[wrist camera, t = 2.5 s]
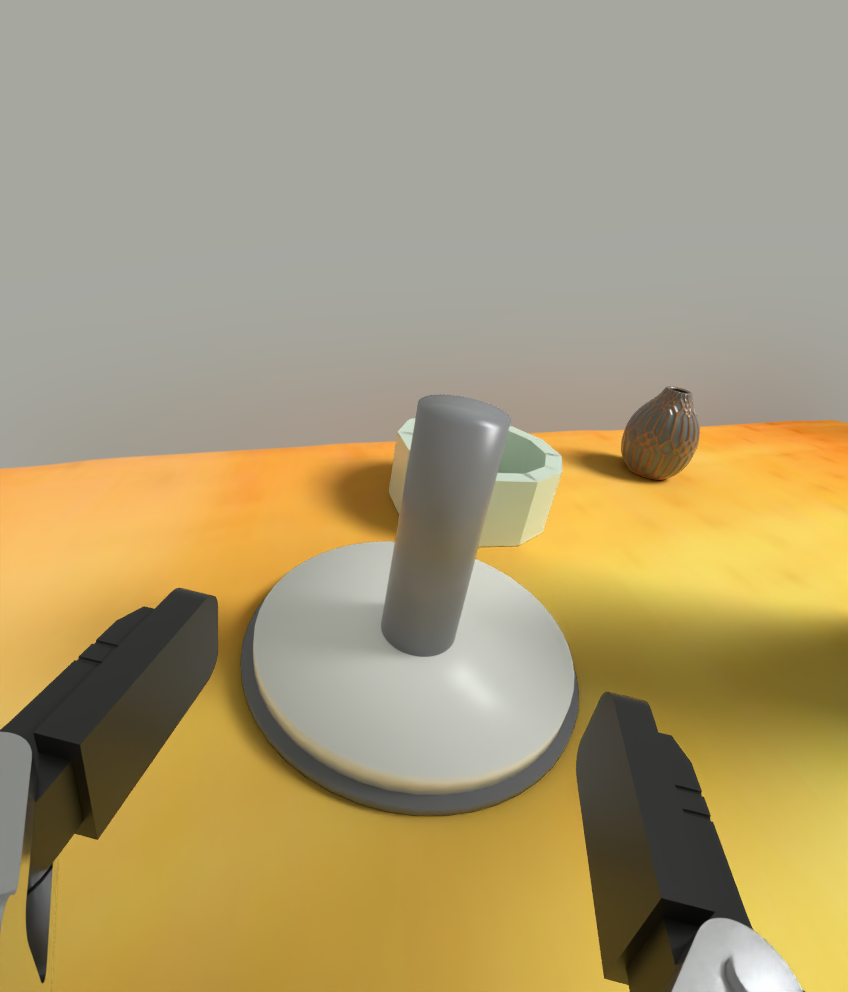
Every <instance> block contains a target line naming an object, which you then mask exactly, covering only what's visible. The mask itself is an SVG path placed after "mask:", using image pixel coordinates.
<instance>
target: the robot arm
mask: <svg viewBox="0 0 848 992" xmlns="http://www.w3.org/2000/svg"><path fill="white" fill-rule="evenodd" d="M217 655H218V602H217V599H216V597H215V596H212V595H208V594H204V593H199V592H195V591H191V590H187V589H183V588H177V589H175V590H173V591H172V592H171V593H170V594H169V595H168V596H167V597H166V598H165V599H164V600H163V601H162V602H161V603H160V604H159V605H158V606H157V607H156V608H155V609H152V608H148V607H142V608H140V609H138V610H136V611H134V612H132V613H130V614H128V615H127V616H125V617H123V618H121V619H119V620H117V621H116V622H115V623H114V624H113V625H112V626H111V627H109V628H108V629H107V630H106V631H105V632H104V633H103V634H102V635H101V636H100V637H99V638H98V639H97V640H96V643H95V644H91V645H90V646H89V647H88V648H87V649H86V650H85V651H84V652H83V653H82V654H81V655H80V656H79V659H78V660H77V661H74V662H72V663H71V664H70V665H69V666H68V667H67V668H66V669H65V670H64V671H63V672H62V673H61V674H60V675H59V676H58V677H57V678H56V679H54V680H53V681H52V682H51V683H50V684H49V685H48V686H47V687H46V688H45V689H44V690H43V691H42V692H41V693H40V694H39V695H38V696H36V697H35V698H34V699H33V700H32V701H31V702H30V703H29V704H28V705H27V706H26V707H25V708H24V709H23V710H22V711H21V712H20V713H19V714H17V715H16V716H15V717H14V718H13V719H12V720H11V721H10V722H9V723H8V724H7V725H6V726H4V727H3V728H2V729H1V730H0V992H52V977H53V958H54V939H55V919H56V900H57V881H58V855H59V854H60V852H61V851H62V850H63V848H64V847H65V846H66V844H67V843H68V842H69V840H70V839H71V838H72V836H73V835H74V833H75V834H78V835H82V836H86V837H89V838H93V839H97V840H98V839H99V837H100V836H101V834H102V833H103V831H104V830H105V829H106V827H107V826H108V824H109V823H110V821H111V820H112V818H113V817H114V816H115V814H116V813H117V811H118V810H119V808H120V807H121V805H122V804H123V803H124V801H125V800H126V798H127V797H128V795H129V794H130V793H131V791H132V790H133V788H134V787H135V785H136V784H137V782H138V781H139V780H140V778H141V777H142V775H143V774H144V772H145V771H146V769H147V768H148V767H149V765H150V764H151V762H152V761H153V759H154V758H155V757H156V755H157V754H158V752H159V751H160V749H161V748H162V746H163V745H164V744H165V742H166V741H167V739H168V738H169V736H170V735H171V734H172V732H173V731H174V729H175V728H176V726H177V725H178V723H179V722H180V721H181V719H182V718H183V716H184V715H185V713H186V712H187V710H188V709H189V708H190V706H191V705H192V703H193V702H194V700H195V699H196V698H197V696H198V695H199V693H200V692H201V690H202V689H203V687H204V686H205V685H206V683H207V682H208V680H209V678H210V676H211V674H212V672H213V669H214V667H215V664H216V660H217ZM576 775H577V783H578V790H579V797H580V805H581V812H582V819H583V827H584V834H585V841H586V849H587V856H588V863H589V871H590V878H591V885H592V893H593V900H594V907H595V915H596V922H597V929H598V937H599V944H600V951H601V959H602V966H603V973H604V979H608V980H612V981H616V982H619V983H623V984H627V985H629V989H630V992H805V991H804V990H802V988H801V986H800V984H799V982H798V980H797V978H796V977H795V975H794V973H793V972H792V970H791V969H790V967H789V966H788V964H787V963H786V962H785V960H784V959H783V958H782V957H781V955H780V954H779V953H778V952H777V951H776V950H775V949H774V948H773V947H772V946H771V945H770V944H769V943H768V942H767V941H766V940H765V939H764V938H763V937H761V936H760V935H759V934H758V933H756V932H755V931H754V930H753V928H752V926H751V924H750V921H749V919H748V917H747V914H746V911H745V908H744V906H743V903H742V900H741V898H740V895H739V892H738V889H737V887H736V884H735V881H734V878H733V876H732V873H731V870H730V867H729V865H728V862H727V859H726V856H725V854H724V851H723V848H722V845H721V843H720V840H719V837H718V835H717V832H716V829H715V826H714V824H713V822H711V821H710V816H711V815H710V813H709V810H708V807H707V804H706V802H705V799H704V797H702V796H701V792H702V791H701V788H700V785H699V782H698V780H697V777H696V774H695V772H694V769H693V766H692V763H691V762H690V760H689V759H688V758H687V756H686V755H685V753H684V752H683V751H682V749H681V748H680V747H679V745H678V744H677V743H676V741H675V740H674V739H673V737H672V736H670V735H666V734H662V733H658V730H657V727H656V724H655V721H654V718H653V715H652V712H651V709H650V706H649V704H648V703H647V702H646V701H644V700H641V699H636V698H632V697H628V696H624V695H620V694H616V693H611V692H605V693H604V694H603V695H602V696H601V698H600V700H599V702H598V705H597V707H596V709H595V711H594V713H593V715H592V718H591V720H590V722H589V724H588V726H587V728H586V731H585V733H584V735H583V737H582V739H581V742H580V744H579V748H578V753H577V761H576Z"/></svg>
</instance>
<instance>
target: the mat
mask: <svg viewBox="0 0 848 992" xmlns="http://www.w3.org/2000/svg"><path fill="white" fill-rule="evenodd" d="M264 600H265V599H264ZM264 600H263V602H264ZM263 602H262V603H261V604H260V606H259V607H258V608H257V610H256V611H255V613H254V615H253V617H252V619H251V621H250V623H249V625H248V627H247V630H246V634H245V637H244V640H243V646H242V655H241V674H242V686H243V689H244V693H245V697H246V701H247V704H248V707H249V709H250V711H251V713H252V715H253V718H254V720H255V722H256V724H257V725H258V727H259V728H260V730H261V731H262V733H263V734H264V736H265V737H266V739H267V740H268V742H269V743H270V744H271V745H272V746H273V747H274V748H275V750H276V751H277V752H278V753H279V754H280V755H281V756H282V757H283V758H284V759H285V760H286V761H287V762H288V763H289V764H290V765H292V766H293V767H294V768H295V769H297V770H298V771H299V772H300V773H302V774H303V775H304V776H305V777H307V778H308V779H310V780H312V781H313V782H315V783H317V784H318V785H320V786H322V787H323V788H325V789H327V790H328V791H330V792H332V793H334V794H337V795H339V796H342V797H344V798H346V799H349V800H351V801H353V802H356V803H358V804H362V805H365V806H369V807H372V808H376V809H380V810H383V811H387V812H394V813H401V814H409V815H416V816H446V815H453V814H461V813H468V812H474V811H477V810H481V809H484V808H488V807H491V806H495V805H498V804H500V803H502V802H504V801H506V800H509V799H511V798H513V797H515V796H517V795H519V794H521V793H522V792H524V791H525V790H527V789H528V788H529V787H531V786H532V785H534V784H535V783H537V782H538V781H539V780H540V779H541V778H542V777H543V776H544V775H545V774H546V773H547V772H548V771H549V770H550V769H551V768H552V767H553V766H554V765H555V763H556V762H557V760H558V759H559V757H560V756H561V754H562V753H563V752H564V750H565V748H566V745H567V743H568V741H569V738H570V736H571V734H572V732H573V729H574V727H575V722H576V718H577V713H578V701H579V691H578V684H577V677H576V673H575V670H574V675H575V676H574V691H573V695H572V699H571V703H570V707H569V709H568V712H567V714H566V716H565V719H564V721H563V723H562V725H561V727H560V729H559V732H558V734H557V736H556V738H555V739H554V740H553V742H552V743H551V745H550V746H549V747H548V749H547V750H546V751H545V752H544V753H543V754H542V755H541V756H540V757H539V758H538V759H537V760H536V761H535V762H534V763H533V764H532V765H530V766H529V767H527V768H526V769H524V770H523V771H521V772H520V773H518V774H517V775H515V776H514V777H511V778H509V779H507V780H505V781H502V782H500V783H498V784H495V785H493V786H490V787H486V788H482V789H479V790H475V791H471V792H465V793H457V794H449V795H416V794H409V793H401V792H394V791H389V790H385V789H382V788H378V787H374V786H371V785H367V784H363V783H361V782H359V781H356V780H354V779H351V778H349V777H347V776H344V775H342V774H339V773H338V772H336V771H334V770H332V769H331V768H329V767H327V766H326V765H324V764H322V763H320V762H319V761H317V760H315V759H314V758H313V757H312V756H310V755H309V754H308V753H306V752H305V751H304V750H303V749H301V748H300V747H299V746H297V745H296V744H295V743H294V742H293V741H292V739H291V738H290V737H289V736H288V735H287V734H286V733H285V732H284V731H283V730H282V729H281V728H280V727H279V725H278V724H277V722H276V721H275V719H274V718H273V717H272V715H271V714H270V712H269V711H268V709H267V707H266V705H265V703H264V701H263V699H262V697H261V695H260V692H259V689H258V685H257V682H256V678H255V673H254V663H253V640H254V629H255V623H256V620H257V616H258V613H259V610H260V608H261V606H262V604H263ZM573 667H574V666H573Z"/></svg>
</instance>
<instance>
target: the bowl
mask: <svg viewBox="0 0 848 992" xmlns="http://www.w3.org/2000/svg"><path fill="white" fill-rule="evenodd" d="M414 424H415V418H413V419H409V420H408V421H407V422H406V423H405V424H404V425H403V427H402V428H401V429H400V430H399V431H398V434H397V440H396V446H395V453H394V460H393V466H392V473H391V479H390V486H389V494H390V497H391V499H392V501H393V503H394V505H395V507H396V509H397V512H398V514H400V508H401V502H402V496H403V490H404V484H405V478H406V472H407V466H408V460H409V454H410V448H411V442H412V436H413V430H414ZM561 474H562V456H561V455H560V454H559V453H557V452H556V451H555V450H554V449H553V448H551V447H550V446H549V445H548V444H547V443H545V442H544V441H543V440H542V439H540V438H537V437H535V436H533V435H530V434H528V433H526V432H523V431H521V430H519V429H516V428H514V427H512V426H510V427H509V430H508V434H507V438H506V442H505V446H504V450H503V454H502V458H501V461H500V465H499V469H498V473H497V477H496V481H495V485H494V489H493V493H492V496H491V500H490V504H489V508H488V512H487V516H486V520H485V524H484V527H483V531H482V535H481V539H480V543H479V547H490V546H519V545H521V544H523V543H525V542H527V541H528V540H530V539H532V538H534V537H536V536H537V535H539V534H541V533H543V530H544V527H545V524H546V521H547V517H548V514H549V511H550V508H551V505H552V502H553V499H554V496H555V493H556V489H557V486H558V483H559V480H560V477H561Z"/></svg>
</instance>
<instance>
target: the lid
mask: <svg viewBox="0 0 848 992" xmlns="http://www.w3.org/2000/svg"><path fill="white" fill-rule="evenodd" d="M510 423H511V418H510V416H509V415H508V414H507V413H506V412H504V411H503V410H501V409H499V408H497V407H495V406H493V405H491V404H488V403H485V402H482V401H478V400H475V399H471V398H466V397H460V396H452V395H430V396H426V397H423V398H421V399H420V400H419V401H418V406H417V413H416V418H415V424H414V430H413V436H412V442H411V448H410V454H409V460H408V466H407V472H406V478H405V484H404V490H403V496H402V502H401V508H400V514H399V520H398V526H397V532H396V538H395V542H387V541H384V542H368V543H360V544H353V545H349V546H344V547H340V548H336V549H333V550H330V551H327V552H324V553H322V554H319V555H317V556H315V557H312V558H310V559H308V560H307V561H305V562H303V563H301V564H300V565H298V566H296V567H295V568H294V569H292V570H291V571H290V572H288V573H287V574H286V575H285V576H284V577H283V578H282V579H281V580H280V581H279V582H278V583H277V584H276V585H275V586H274V587H273V588H272V590H271V591H270V592H269V594H268V595H267V596H266V598H265V600H264V602H263V604H262V606H261V608H260V610H259V613H258V616H257V620H256V623H255V629H254V640H253V663H254V673H255V678H256V682H257V685H258V689H259V692H260V695H261V697H262V699H263V701H264V703H265V705H266V707H267V709H268V711H269V712H270V714H271V715H272V717H273V718H274V719H275V721H276V722H277V724H278V725H279V727H280V728H281V729H282V730H283V731H284V732H285V733H286V734H287V735H288V736H289V737H290V738H291V739H292V741H293V742H294V743H295V744H296V745H297V746H299V747H300V748H301V749H303V750H304V751H305V752H306V753H308V754H309V755H310V756H312V757H313V758H314V759H315V760H317V761H319V762H320V763H322V764H324V765H326V766H327V767H329V768H331V769H332V770H334V771H336V772H338V773H339V774H342V775H344V776H347V777H349V778H351V779H354V780H356V781H359V782H361V783H363V784H367V785H371V786H374V787H378V788H382V789H385V790H389V791H394V792H401V793H409V794H416V795H449V794H457V793H465V792H471V791H475V790H479V789H482V788H486V787H490V786H493V785H495V784H498V783H500V782H502V781H505V780H507V779H509V778H511V777H514V776H515V775H517V774H518V773H520V772H521V771H523V770H524V769H526V768H527V767H529V766H530V765H532V764H533V763H534V762H535V761H536V760H537V759H538V758H539V757H540V756H541V755H542V754H543V753H544V752H545V751H546V750H547V749H548V747H549V746H550V745H551V743H552V742H553V740H554V739H555V738H556V736H557V734H558V732H559V729H560V727H561V725H562V723H563V721H564V719H565V716H566V714H567V712H568V709H569V707H570V703H571V699H572V695H573V691H574V676H575V675H574V667H573V660H572V656H571V653H570V649H569V646H568V644H567V641H566V639H565V637H564V635H563V633H562V631H561V629H560V628H559V626H558V624H557V623H556V621H555V620H554V618H553V617H552V616H551V614H550V613H549V612H548V611H547V609H546V608H545V607H544V606H543V605H542V604H541V603H540V602H539V601H538V600H537V599H536V598H535V597H534V596H533V595H532V594H531V593H530V592H529V591H527V590H526V589H525V588H524V587H523V586H521V585H520V584H519V583H517V582H516V581H514V580H513V579H512V578H510V577H509V576H507V575H506V574H504V573H502V572H500V571H499V570H497V569H495V568H493V567H491V566H489V565H487V564H485V563H483V562H481V561H479V560H477V559H476V555H477V551H478V547H479V543H480V539H481V535H482V531H483V527H484V524H485V520H486V516H487V512H488V508H489V504H490V500H491V496H492V493H493V489H494V485H495V481H496V477H497V473H498V469H499V465H500V461H501V458H502V454H503V450H504V446H505V442H506V438H507V434H508V430H509V427H510Z"/></svg>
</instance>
